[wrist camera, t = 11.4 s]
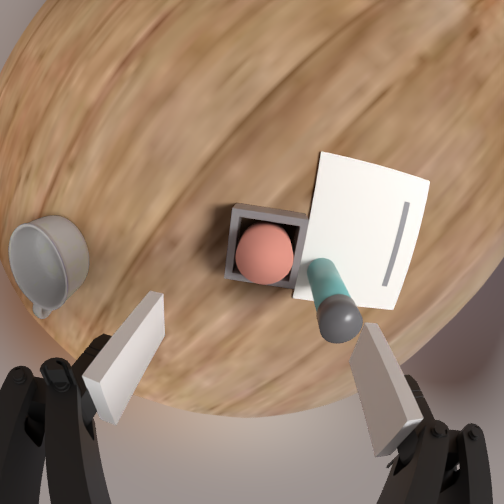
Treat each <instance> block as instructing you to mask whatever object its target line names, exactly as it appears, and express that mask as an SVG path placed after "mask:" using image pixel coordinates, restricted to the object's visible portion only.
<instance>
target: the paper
mask: <svg viewBox="0 0 504 504" xmlns="http://www.w3.org/2000/svg"><path fill="white" fill-rule="evenodd" d="M429 184H430V181H428V180H425V179H422V178H419V177H416V176H413V175H410V174H407V173H403V172H400V171H397V170H393V169H390V168H387V167H383V166H380V165H376V164H372V163H368V162H365V161H361V160H357V159H353V158H349V157H344V156H340V155H336V154H331V153H326V152H322V151H321V155H320V161H319V167H318V173H317V179H316V185H315V191H314V196H313V202H312V207H311V213H310V218H309V224H308V229H307V234H306V239H305V244H304V249H303V253H302V258H301V263H300V267H299V272H298V276H297V281H296V285H295V289H294V294H293V298H296V299H303V300H311V301H314V299H313V295H312V291H311V288H310V284H309V280H308V276H307V269H308V267H309V265H310V264H311V262H313V261H314V260H316V259H318V258H327V259H329V260H331V261H332V262H333V263H334V265H335V267H336V269H337V270H338V272H339V274H340V276H341V278H342V280H343V282H344V284H345V286H346V288H347V290H348V292H349V294H350V296H351V298H352V299H353V300H354V302H355V304H356V306H360V307H369V308H379V309H389V310H393V309H394V307H395V304H396V301H397V299H398V296H399V293H400V291H401V288H402V285H403V282H404V279H405V276H406V273H407V270H408V267H409V264H410V261H411V258H412V254H413V251H414V248H415V244H416V241H417V237H418V233H419V229H420V225H421V221H422V217H423V213H424V209H425V204H426V199H427V195H428V189H429Z"/></svg>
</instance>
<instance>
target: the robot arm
mask: <svg viewBox="0 0 504 504" xmlns="http://www.w3.org/2000/svg"><path fill="white" fill-rule="evenodd" d="M164 336H165V327H164V299H163V293H159V292H154V291H149V292H148V294H147V295H146V296H145V297H144V298H143V300H142V301H141V302H140V303H139V304H138V305H137V307H136V308H135V309H134V310H133V311H132V313H131V314H130V315H129V316H128V318H127V319H126V320H125V321H124V322H123V324H122V325H121V326H120V327H119V329H118V330H117V331H116V332H115V333H114V335H113V336H109V335H106V334H102V335H100V336H99V337H97V338H95V339H94V340H93V341H92V343H91V344H90V345H89V347H87V348H86V350H85V351H84V353H82V354H81V356H80V357H79V358H78V359H77V360H76V362H75V363H74V364H73V365H72V367H71V366H70V364H69V363H68V361H66V360H65V359H63V358H51V359H49V360H46V361H45V362H44V363H43V364H42V365H41V368H40V372H41V374H42V376H43V378H39V377H34V376H33V373H32V371H31V370H30V369H29V368H27V367H25V366H18V367H15V368H13V369H12V370H11V371H10V372H9V373H8V375H7V377H6V379H5V381H4V383H3V385H2V388H1V390H0V504H39V495H40V486H41V479H42V473H43V466H44V461H45V456H46V469H47V479H48V487H49V494H50V500H51V504H111V501H110V497H109V494H108V490H107V486H106V482H105V477H104V473H103V469H102V464H101V459H100V454H99V448H98V441H97V435H96V428H95V422H94V419H93V417H94V415H95V414H96V412H97V413H98V415H99V417H100V419H101V420H104V421H106V422H109V423H111V424H114V425H117V423H118V421H119V419H120V417H121V415H122V413H123V411H124V409H125V407H126V406H127V404H128V402H129V400H130V398H131V396H132V394H133V392H134V390H135V389H136V387H137V385H138V383H139V381H140V379H141V378H142V376H143V374H144V372H145V370H146V368H147V367H148V365H149V363H150V361H151V359H152V358H153V356H154V354H155V352H156V350H157V349H158V347H159V345H160V343H161V341H162V340H163V338H164ZM349 363H350V367H351V370H352V373H353V376H354V380H355V383H356V387H357V390H358V393H359V397H360V401H361V404H362V407H363V411H364V415H365V419H366V422H367V426H368V430H369V434H370V438H371V442H372V446H373V451H374V455H375V457H381V456H387V455H390V454H392V453H393V452H394V451H395V450H396V448H397V449H398V453H399V454H398V455H397V456H396V457H395V458H394V459H393V460H392V461H391V462H390V463H389V464H388V465H387V468H389V467H390V466H391V465H392V464H393V465H392V468H391V471H390V473H389V476H388V478H387V481H386V483H385V486H384V488H383V490H382V493H381V495H380V497H379V500H378V502H377V504H493V498H492V485H491V475H490V468H489V460H488V454H487V449H486V443H485V438H484V434H483V431H482V430H481V428H480V427H479V426H477V425H476V424H472V423H471V424H467V425H466V426H465V427H464V428H463V429H462V430H461V431H458V430H457V431H456V430H449V429H448V426H447V425H446V424H445V423H443V422H441V421H439V420H435V419H434V417H433V415H432V413H431V411H430V408H429V406H428V404H427V402H426V400H425V398H423V394H422V392H421V391H420V388H419V386H418V384H417V382H416V381H415V380H414V379H413V378H412V377H411V376H410V375H403V372H402V370H401V368H400V366H399V364H398V362H397V360H396V358H395V356H394V354H393V352H392V350H391V348H390V347H389V345H388V343H387V341H386V339H385V337H384V335H383V333H382V331H381V330H380V328H379V326H378V324H377V323H364V326H363V329H362V331H361V334H360V336H359V339H358V341H357V343H356V346H355V348H354V350H353V353H352V355H351V357H350V360H349ZM458 464H460V469H459V470H457V465H458Z"/></svg>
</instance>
